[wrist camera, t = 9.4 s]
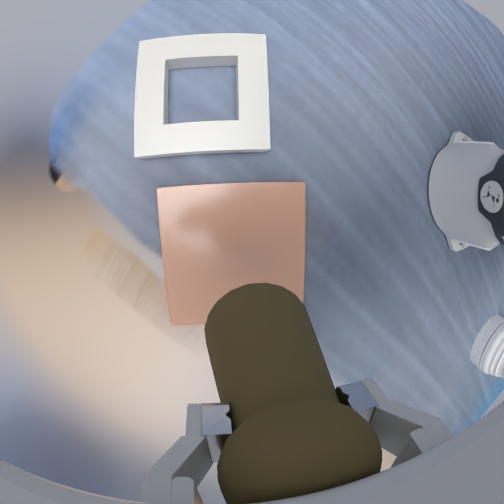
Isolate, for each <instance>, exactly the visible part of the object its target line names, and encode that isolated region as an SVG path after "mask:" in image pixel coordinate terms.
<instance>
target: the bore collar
mask: <svg viewBox="0 0 504 504" xmlns="http://www.w3.org/2000/svg"><path fill="white" fill-rule="evenodd" d="M216 66H235V70H236V119H237V120H227V121H203V122H188V123H176V124H168V91H169V70H172V69H183V68H196V67H216ZM270 149H271V147H270V117H269V91H268V69H267V49H266V35H265V34H241V33H221V34H196V35H183V36H173V37H165V38H157V39H150V40H144V41H140V43H139V52H138V62H137V74H136V89H135V114H134V157H135V158H138V159H150V158H160V157H170V156H182V155H196V154H214V153H244V152H266V151H268V150H270Z"/></svg>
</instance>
